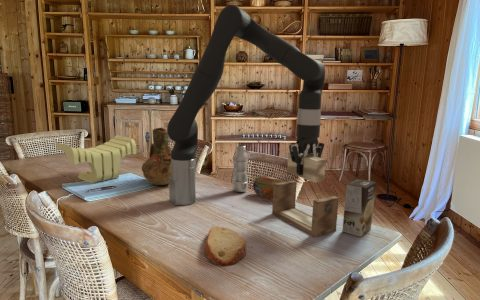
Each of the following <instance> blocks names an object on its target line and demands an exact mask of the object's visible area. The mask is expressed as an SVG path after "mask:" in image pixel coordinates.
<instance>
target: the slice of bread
mask: <svg viewBox="0 0 480 300" xmlns="http://www.w3.org/2000/svg"><path fill="white" fill-rule="evenodd" d="M206 238H207V239H206V242H205V247H204V252H205V254H206V257H207V259H208V260H209V261H210V262H212V263H213V264H215V265H217V266H220V267H228V266H234V265H237V263H238V262H239V261H240V260H241V259H243V258H244V257H245V255H246V254H247V247H246V243H247V242H246V239H245V238H244V237H243V236H242V235H240V233H238V232H237V231H235V230H233V229H230V228H228V227H223V226H212V227H211V229H209V231H208V235H207V237H206Z"/></svg>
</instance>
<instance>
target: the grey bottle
mask: <svg viewBox="0 0 480 300" xmlns="http://www.w3.org/2000/svg"><path fill="white" fill-rule="evenodd" d="M246 147H247V146H246V144H236V149H235V150H236V151H235V152H234V154H233V156H232V161H233V162H232V163H233V180H232V185H231V188H232V190H233V191H234V192H235V193H246V192H247V191H248V188H249V182H248V174H247V173H248V164H249V156H248V153H247V152H246V150H247V149H246Z"/></svg>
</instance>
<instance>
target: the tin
mask: <svg viewBox="0 0 480 300" xmlns="http://www.w3.org/2000/svg"><path fill="white" fill-rule="evenodd" d="M253 181H254V182H253V190H254V192H255V194H256V195H257V196H259V197H261V198H265V199H269V200H270V199H271V200H273V185H274V184H275V183H281V182H285V181H284V180H283V179H281V178H277V177H271V176H263V175H262V176H258V177H256V178H255V179H254V180H253Z"/></svg>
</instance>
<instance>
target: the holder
mask: <svg viewBox="0 0 480 300" xmlns="http://www.w3.org/2000/svg"><path fill="white" fill-rule="evenodd" d="M297 182H298V181H296V180H289V181H288V180H287V181H284V182H281V183H275V184H274V185H273V199H272V208H271V209H272V212H271V214H272V215H274V216H276V217H278V218H279V219H281V220H284V221H285V222H287V223H289V224H291V225H293V226H295V227H296V228H298V229H300V230H302V231H304V232H305V233H308V234H310V235H311V236H312V237H320V236H323V235H326V234H330V233H334V232H336V231H337V225H338V224H337V222H338V212H339V211H338V209H339V201H340V200H339V196H335V195H332V196H328V197H324V198H319V199H314V200H313V202H312V215H311V214H309V213H306V212H305V211H303V210H300V209H298V208H296V201H297V200H296V198H297Z"/></svg>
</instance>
